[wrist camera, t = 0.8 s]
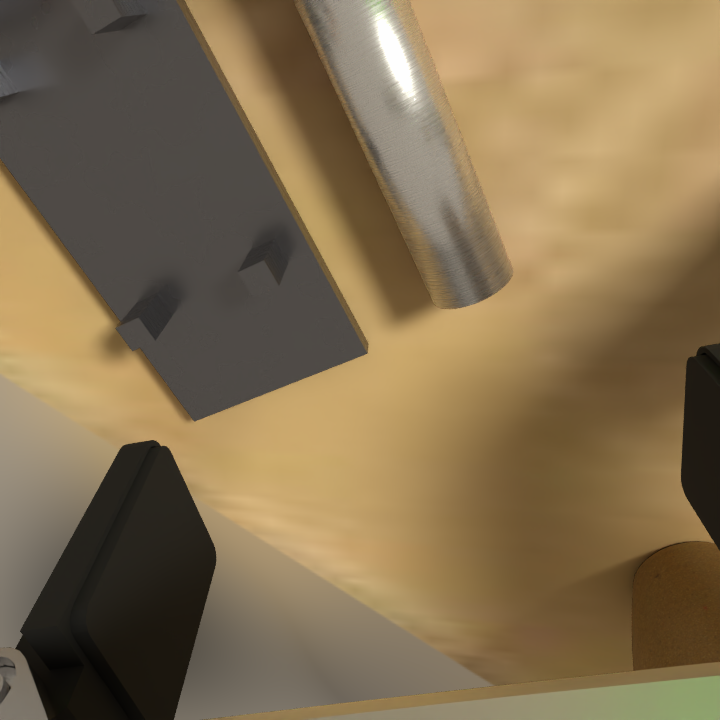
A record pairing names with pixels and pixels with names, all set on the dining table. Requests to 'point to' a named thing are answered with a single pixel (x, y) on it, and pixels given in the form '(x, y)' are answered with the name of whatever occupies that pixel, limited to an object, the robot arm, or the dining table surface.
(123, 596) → the robot arm
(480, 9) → the dining table surface
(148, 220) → the saddle stand
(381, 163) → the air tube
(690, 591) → the plant pot
